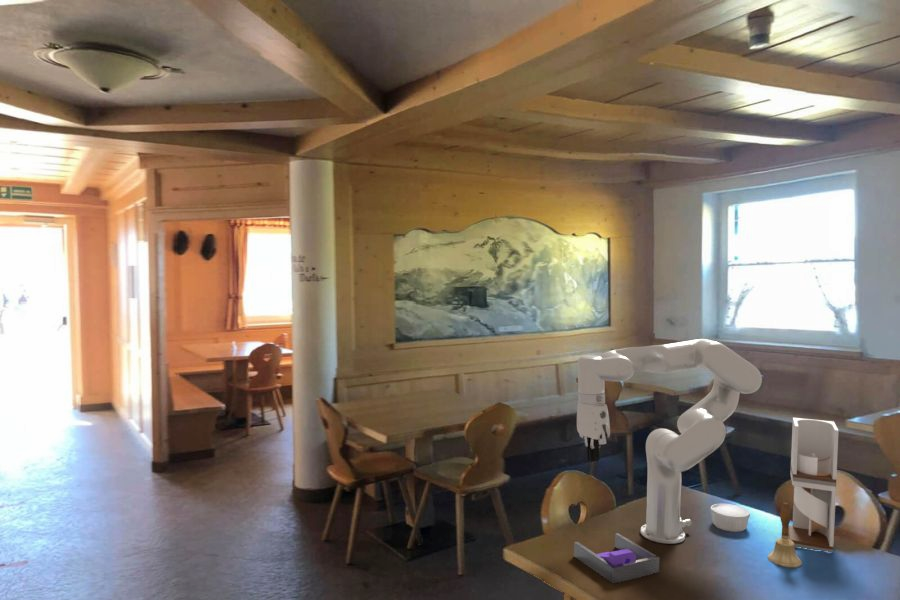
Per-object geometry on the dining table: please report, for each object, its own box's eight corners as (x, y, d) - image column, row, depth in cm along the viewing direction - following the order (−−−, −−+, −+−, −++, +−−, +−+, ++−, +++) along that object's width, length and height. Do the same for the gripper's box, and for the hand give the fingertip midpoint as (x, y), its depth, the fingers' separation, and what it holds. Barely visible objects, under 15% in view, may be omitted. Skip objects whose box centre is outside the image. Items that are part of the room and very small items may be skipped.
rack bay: (617, 546, 183) (618, 532, 183) (658, 572, 168) (659, 557, 168) (574, 556, 177) (574, 541, 177) (612, 583, 162) (613, 567, 162)
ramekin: (714, 516, 207) (715, 500, 206) (752, 524, 200) (753, 508, 200) (705, 527, 197) (706, 511, 197) (745, 537, 191) (745, 519, 191)
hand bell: (769, 564, 173) (771, 506, 173) (766, 551, 181) (768, 496, 180) (803, 570, 170) (806, 511, 169) (799, 556, 178) (802, 500, 177)
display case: (788, 531, 195) (792, 417, 193) (828, 538, 190) (833, 421, 188) (790, 546, 184) (795, 426, 183) (833, 554, 180) (838, 430, 178)
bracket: (635, 577, 166) (636, 551, 166) (613, 581, 164) (614, 555, 163) (607, 557, 177) (607, 533, 177) (586, 561, 175) (586, 536, 174)
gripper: (619, 401, 182) (620, 465, 183) (585, 392, 195) (586, 452, 197) (598, 404, 179) (599, 469, 180) (565, 395, 192) (566, 456, 193)
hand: (593, 460), depth 188 cm, fingers closed
